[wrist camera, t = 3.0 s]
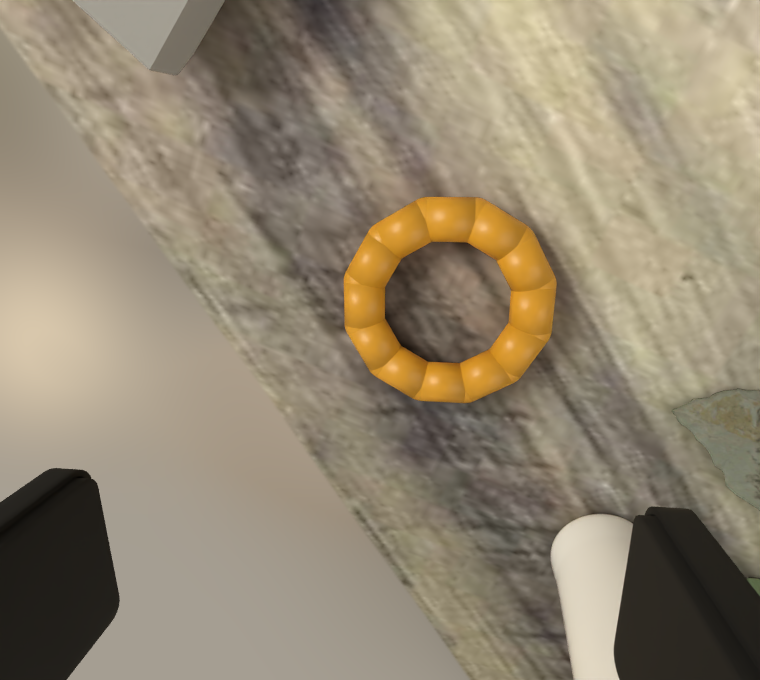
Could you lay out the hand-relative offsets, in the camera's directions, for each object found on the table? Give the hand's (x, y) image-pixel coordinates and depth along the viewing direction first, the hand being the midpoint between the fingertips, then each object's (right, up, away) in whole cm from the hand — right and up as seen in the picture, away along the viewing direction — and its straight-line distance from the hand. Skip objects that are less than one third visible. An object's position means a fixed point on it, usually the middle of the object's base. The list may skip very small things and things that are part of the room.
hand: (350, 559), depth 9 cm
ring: (+4, +6, +15) cm, 17 cm away
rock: (+20, -1, +16) cm, 26 cm away
